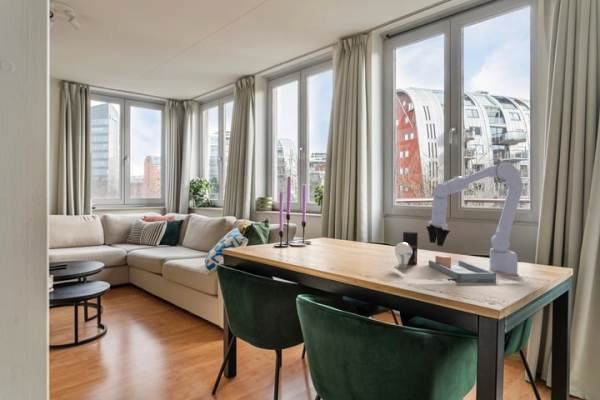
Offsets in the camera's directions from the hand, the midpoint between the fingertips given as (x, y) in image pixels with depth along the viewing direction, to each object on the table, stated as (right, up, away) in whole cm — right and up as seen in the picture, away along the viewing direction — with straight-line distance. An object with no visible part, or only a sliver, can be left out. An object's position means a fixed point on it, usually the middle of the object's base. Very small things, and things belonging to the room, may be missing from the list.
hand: (436, 244), depth 161 cm
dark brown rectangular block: (-11, -10, +1) cm, 15 cm away
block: (+1, -9, -6) cm, 11 cm away
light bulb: (-16, -10, -8) cm, 21 cm away
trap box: (+4, -10, -14) cm, 18 cm away
